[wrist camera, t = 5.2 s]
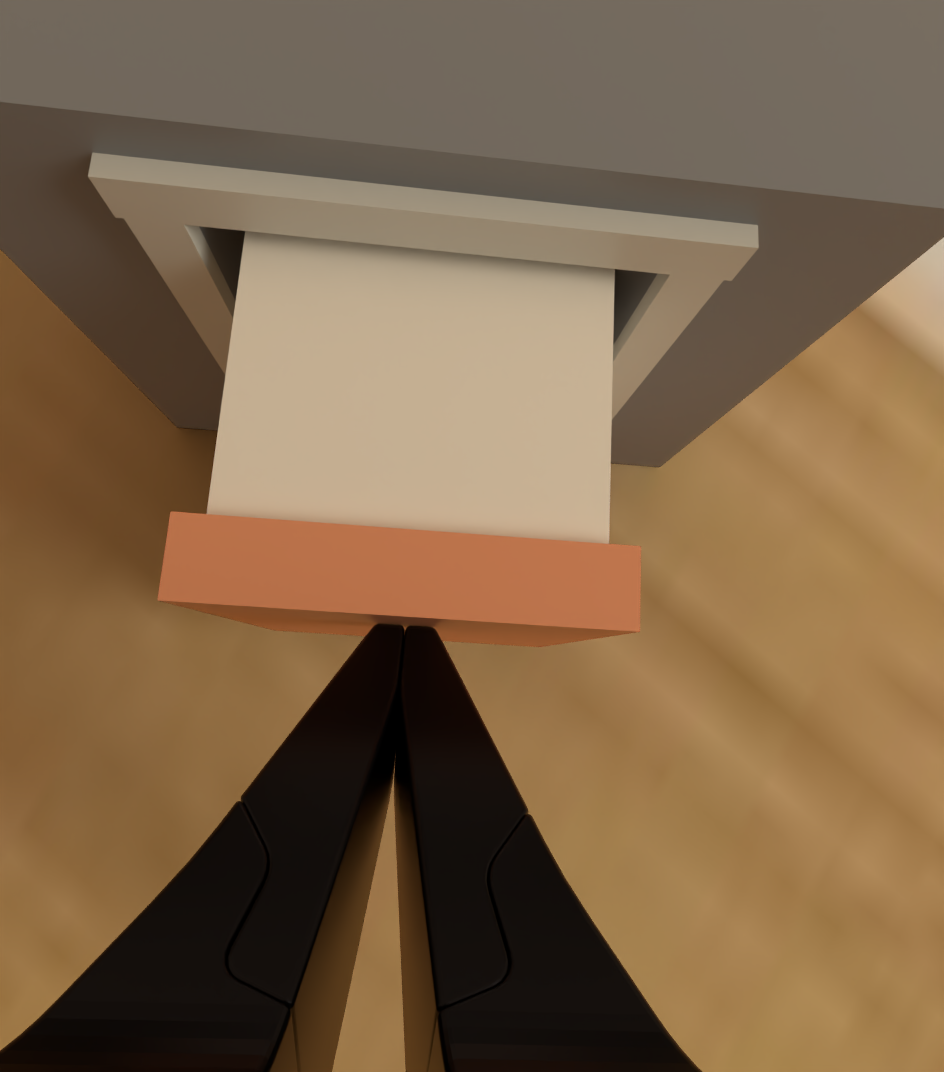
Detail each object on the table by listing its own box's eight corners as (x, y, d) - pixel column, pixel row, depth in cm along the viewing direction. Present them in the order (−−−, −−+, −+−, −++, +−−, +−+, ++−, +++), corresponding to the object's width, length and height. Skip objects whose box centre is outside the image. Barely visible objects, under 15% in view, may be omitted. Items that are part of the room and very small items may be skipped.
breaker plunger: (539, 646, 14) (639, 631, 8) (274, 630, 14) (157, 599, 7) (556, 216, 16) (648, -73, 10) (324, 190, 16) (264, -127, 9)
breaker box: (659, 478, 17) (976, 236, 8) (175, 438, 17) (-172, 109, 7) (660, 322, 18) (948, -78, 8) (199, 277, 17) (-79, -226, 8)
